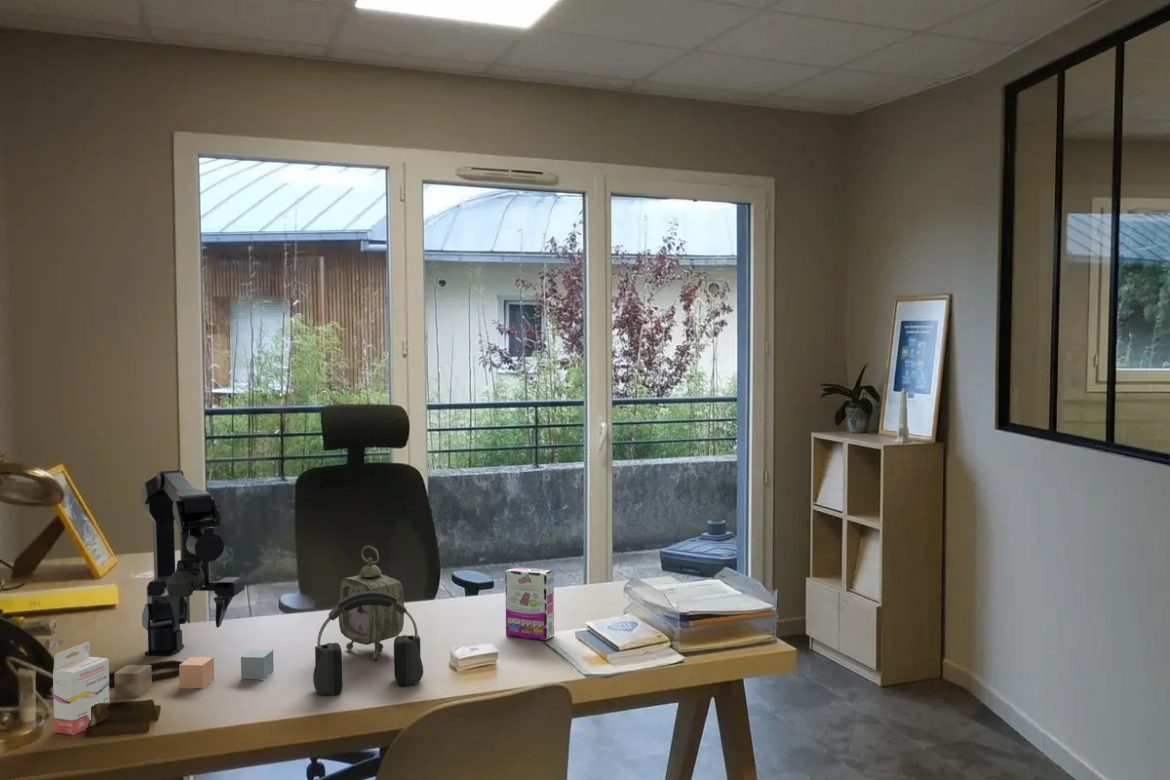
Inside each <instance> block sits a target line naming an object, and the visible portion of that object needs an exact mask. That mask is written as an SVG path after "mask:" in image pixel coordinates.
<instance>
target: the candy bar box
mask: <svg viewBox="0 0 1170 780" xmlns="http://www.w3.org/2000/svg"><path fill="white" fill-rule="evenodd" d="M504 574H505V575H504V576H505V577H504V578H505V581H504V582H505V636H506V637H509V638H516V639H517V638H519V639H525V640H527V639H528V640H535V641H544V640H547V639H548V638H549V637H550V636H552V635H554V636H555V612H554V610H555V608H554V607H555V606H554V604H555V603H554V602H555V601H554V600H555V598H554V594H555V591H554V590H555V589H554V585H555V583H554V569H553V570H552V569H545V568H544V569H543V568H534V567H533V568H531V567H521V566H520V567H518V566H517V567H516V566H513V567H510V568H508V569H507V570H505V572H504ZM548 640H549V639H548ZM548 640H547V641H548ZM544 642H545V641H544Z"/></svg>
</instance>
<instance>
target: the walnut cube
mask: <svg viewBox="0 0 1170 780" xmlns="http://www.w3.org/2000/svg"><path fill="white" fill-rule="evenodd" d="M152 670H153V669H152V664H151V665H150V664H126V665H125V666H124V667H122V668H121V669H119V670H117V671H116V672H114V676H113V677H114V680H113V681H114V697H115V698H133V697H139V696H140V697H142V696H143V695H145V694H147V693H148V692H149V691H150V690H149V689H150V688H152V689H153V680H152V679H153V677H152ZM148 690H149V691H148ZM147 691H148V692H147ZM144 693H145V694H144ZM142 694H143V695H142ZM141 695H142V696H141ZM123 696H124V697H123ZM140 697H139V698H140Z"/></svg>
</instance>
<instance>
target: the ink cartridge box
mask: <svg viewBox="0 0 1170 780" xmlns="http://www.w3.org/2000/svg"><path fill="white" fill-rule="evenodd" d="M90 647H91V642H90V641H87V642H84V643H81V644H78V645H75V646H73V647H69V648H67V649H64V650H61V651H59V652H56V653H55V654H54V657H53V659H54V660H53V671H52V680H53V681H52V683H53V684H52V689H53V690H52V691H53V695H52V696H53V733H58V734H63V735H64V734H65V735H69V736H77V734H81V732H83V731H86V730H87V729H86V728H87V727H88V724H89V722H90V720H91V707H92V706H94V705H95V704H98V703H103V702H109V703H110V664H109V663H110V659H109V658H104V657H97V656H90V652H91V651H90V649H91V648H90ZM77 652H78V653H77ZM72 653H77V654H76V655H73V656H70V657H67V656H69V655H71V654H72Z"/></svg>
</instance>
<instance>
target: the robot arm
mask: <svg viewBox="0 0 1170 780" xmlns="http://www.w3.org/2000/svg"><path fill="white" fill-rule="evenodd" d="M140 493H141V494H140V496H141V497H140V498H141V503H142V505H143V509H144V511H145V513H146V514H147V515H148V516H149V518H150V520H151V521H152V545H153V546H152V547H153V548H152V550H153V577H154V578H153V580H151V581H149V582H148V583H147V586H146V604H144V607H143V611H142V614H141V624H142V625H141V626H142V627H143V629H145V630H146V631H147V650H145V652H144V655H147V656H149V655H150V656H171V655H174V654H175V653H177V652H178V651H180V650H181V649H183V648H184V647H185V644H183V630H182V629H181V625H184V624H186V622H187V616H188V615H187V613H188V608H189V603H188V602H187V599H186V598H189V597H191V596H192V595H193V593H194V592H195V591H198V592H199V591H200V592H202V591H203V592H214V594H215V595H216V596H215V597H213V601H214V602H215V627H216V628H219V627H221V625H222V624H223V621H224V617H225V615H226V613H227V610H228V607H229V606H230V604H231V601H232V600H233V598H234V597H236V596H237V595H239V594H240V593H241V592H244V591H245V589H246V585H245V580H244V579H243V578H242V577H239V576H225V577H223V578H222V579H220V580H218V581H212V580H214V574H213V573H211V562H214V561H216V560H217V559H219V558H220V557H221V556H222V554H223V552H224V550H225V549H224V548H225V542H224V541H223V539H222V537H221V536H219V534H216V533H215V532H214V531H215V528H216V527H220V526H221V523H220V522H221V514H220V511H219V508H218V504H217V501H215V498H214V497H212V495H211V494H210V493H209V492H208V491H206V490H205V489H204V490H202V489H197V488H194V486H193V485H192V484H191V482H189V481H188V479H187V478H186V476H184V472H183V470H180V469H179V468H178V469H164V470H161V471H158V472H157V473H156V475H155V476H153V477H152V478H151V479H149V480H148V481H147V480H146V482H145V483H144V485H143V487H142V489H141V492H140ZM175 523H176V525H177V528H178V530H179V531H180V532H179V550H180V551H179V553H180V554H179V556H180V559H179V560H177V562H176V547H175V543H176V542H175ZM182 647H183V648H182Z"/></svg>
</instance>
